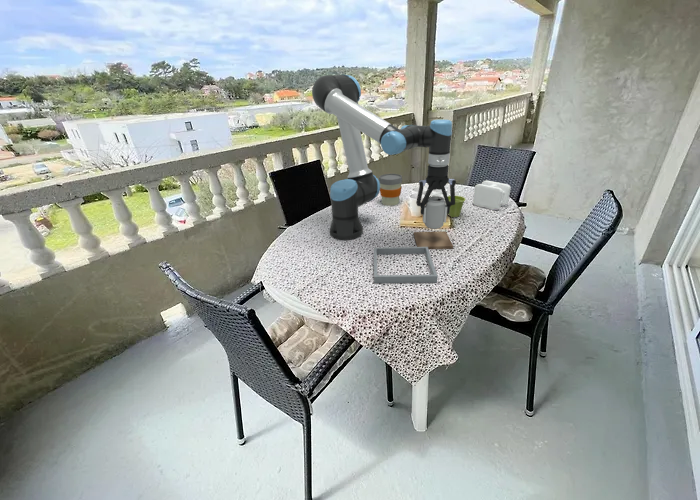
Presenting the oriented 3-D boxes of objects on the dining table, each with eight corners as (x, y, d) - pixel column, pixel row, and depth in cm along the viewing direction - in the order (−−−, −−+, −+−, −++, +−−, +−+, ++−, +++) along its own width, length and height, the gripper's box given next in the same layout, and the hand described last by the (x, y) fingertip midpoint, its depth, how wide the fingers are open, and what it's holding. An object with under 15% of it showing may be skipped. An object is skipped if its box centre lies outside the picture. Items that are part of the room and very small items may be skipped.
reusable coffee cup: (405, 201, 176) (406, 174, 169) (395, 208, 167) (396, 180, 160) (385, 198, 182) (385, 172, 175) (375, 205, 173) (374, 178, 166)
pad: (417, 249, 126) (417, 246, 125) (413, 234, 138) (413, 232, 137) (452, 248, 125) (453, 246, 124) (445, 233, 137) (445, 231, 136)
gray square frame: (374, 283, 106) (374, 276, 105) (374, 253, 125) (373, 247, 124) (437, 282, 105) (437, 276, 104) (427, 252, 123) (427, 246, 122)
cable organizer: (470, 204, 166) (473, 183, 160) (481, 199, 172) (484, 179, 166) (497, 211, 155) (502, 189, 150) (508, 206, 161) (512, 184, 156)
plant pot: (448, 210, 160) (449, 194, 156) (466, 214, 155) (468, 197, 151) (440, 216, 154) (441, 199, 150) (458, 220, 149) (460, 203, 145)
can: (443, 230, 124) (446, 201, 118) (424, 229, 125) (426, 201, 120) (442, 222, 130) (445, 195, 125) (424, 222, 132) (425, 195, 126)
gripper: (411, 168, 114) (409, 225, 124) (469, 165, 112) (462, 224, 123) (409, 163, 120) (407, 218, 131) (463, 161, 119) (457, 217, 129)
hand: (434, 221), depth 127 cm, fingers closed on can, 7 cm apart
